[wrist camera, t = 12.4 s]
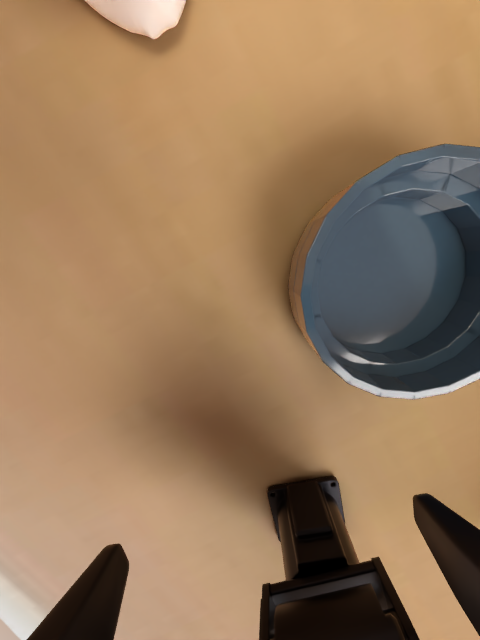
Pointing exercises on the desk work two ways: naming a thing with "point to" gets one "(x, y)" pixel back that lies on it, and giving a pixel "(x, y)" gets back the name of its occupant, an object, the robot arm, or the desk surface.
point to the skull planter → (141, 14)
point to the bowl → (396, 276)
